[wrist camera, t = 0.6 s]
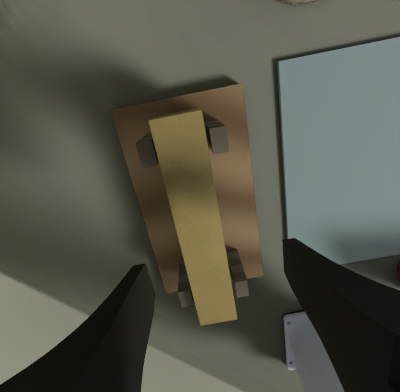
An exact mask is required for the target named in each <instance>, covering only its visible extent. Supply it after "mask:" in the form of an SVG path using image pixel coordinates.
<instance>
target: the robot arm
mask: <svg viewBox="0 0 400 392" xmlns="http://www.w3.org/2000/svg"><path fill="white" fill-rule="evenodd" d="M283 257H284V272H285V275H286V277H287V279H288V282H289V284H290V286H291V289H292V291H293V292H294V294H295V296H296V298H297V299H298V301H299V303H300V304H301V306H302V308H303V310H304V311H305V312H299V313H293V314H287V315H285V316H284V318H283V321H284V334H285V348H286V362H287V368H288V369H289V370H295V369H296V370H297V373H298V375H299V378H300V380H301V383H302V385H303V388H304V390H305V392H400V290H397V289H394V288H391V287H389V286H386V285H383V284H380V283H378V282H375V281H373V280H371V279H368V278H366V277H364V276H361V275H359V274H357V273H355V272H353V271H351V270H349V269H347V268H345V267H343V266H341V265H339V264H337V263H335V262H333V261H332V260H330V259H328V258H326V257H325V256H323V255H321V254H320V253H318V252H316V251H315V250H313V249H312V248H310V247H308V246H307V245H305V244H304V243H302V242H301V241H299V240H297V239H296V238H291V239H285V240H283ZM154 298H155V293H154V290H153V286H152V283H151V280H150V277H149V274H148V271H147V268H146V264H140V265H134V266H133V267H132V268H131V269H130V271H129V272H128V273H127V274H126V276H125V277H124V278H123V279H122V281H121V282H120V283H119V284H118V285H117V287H116V288H115V289H114V290H113V292H112V293H111V294H110V295H109V296H108V297H107V298H106V299H105V301H104V302H103V303H102V304H101V305H100V306H99V307H98V308H97V309H96V310H95V311H94V313H93V314H92V315H91V316H90V317H89V318H88V319H87V320H85V321H84V322H83V323H82V324H81V325H80V326H79V327H78V328H77V329H76V330H75V331H74V332H72V333H71V334H70V335H69V336H67V337H66V338H65V339H64V340H63V341H61V342H60V343H59V344H58V345H57V346H55V347H54V348H53V349H52V350H50V351H49V352H48V353H46V354H45V355H44V356H42V357H41V358H39V359H38V360H37V361H35V362H34V363H33V364H31V365H30V366H28V367H27V368H25V369H24V370H22V371H21V372H19V373H18V374H16V375H15V376H13V377H12V378H10V379H9V380H7V381H5V382H4V383H2V384H1V385H0V392H141V383H142V373H143V365H144V358H145V353H146V348H147V343H148V338H149V333H150V328H151V323H152V318H153V312H154Z"/></svg>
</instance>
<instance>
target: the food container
mask: <svg viewBox="0 0 400 392" xmlns="http://www.w3.org/2000/svg"><path fill="white" fill-rule="evenodd" d="M397 274H398V280H399V281H400V260H399V263H398V267H397Z"/></svg>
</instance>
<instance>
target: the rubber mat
mask: <svg viewBox="0 0 400 392" xmlns="http://www.w3.org/2000/svg"><path fill="white" fill-rule="evenodd" d="M277 72H278V90H279V108H280V126H281V144H282V162H283V180H284V198H285V216H286V233H287V239H291V238H296V239H297V240H299V241H301V242H302V243H304V244H305V245H307V246H308V247H310V248H312V249H313V250H315V251H316V252H318V253H320V254H321V255H323V256H325V257H326V258H328V259H330V260H332V261H333V262H335V263H337V264H339V265H341V264H347V263H353V262H358V261H364V260H370V259H375V258H381V257H387V256H392V255H398V254H400V37H397V38H392V39H387V40H382V41H377V42H372V43H367V44H362V45H357V46H352V47H347V48H342V49H337V50H332V51H327V52H322V53H317V54H312V55H308V56H303V57H298V58H293V59H288V60H283V61H278V62H277Z"/></svg>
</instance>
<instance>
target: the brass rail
mask: <svg viewBox="0 0 400 392" xmlns="http://www.w3.org/2000/svg"><path fill="white" fill-rule="evenodd" d="M148 121H149V125H150V129H151V133H152V137H153V141H154V145H155V149H156V152H157V156H158V160H159V164H160V168H161V172H162V176H163V180H164V184H165V188H166V192H167V196H168V200H169V204H170V207H171V211H172V215H173V219H174V223H175V227H176V231H177V235H178V239H179V243H180V247H181V251H182V255H183V258H184V262H185V266H186V270H187V274H188V278H189V282H190V286H191V290H192V294H193V298H194V302H195V306H196V310H197V313H198V317H199V321H200V325H201V326H202V325H208V324H214V323H219V322H225V321H231V320H237V313H236V307H235V301H234V295H233V289H232V284H231V278H230V272H229V266H228V260H227V254H226V249H225V243H224V237H223V231H222V225H221V219H220V214H219V208H218V202H217V196H216V190H215V184H214V179H213V173H212V167H211V161H210V155H209V149H208V144H207V138H206V132H205V126H204V120H203V114H202V110H201V109H200V108H197V109H192V110H187V111H182V112H177V113H172V114H167V115H162V116H156V117H154V118H152V119H150V120H148Z"/></svg>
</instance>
